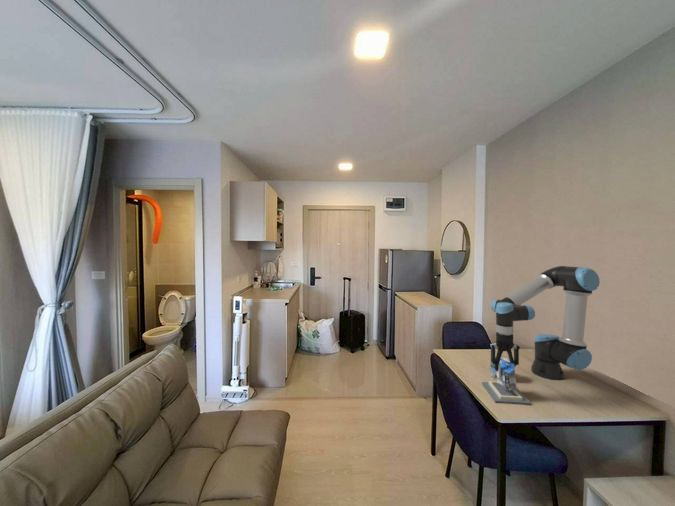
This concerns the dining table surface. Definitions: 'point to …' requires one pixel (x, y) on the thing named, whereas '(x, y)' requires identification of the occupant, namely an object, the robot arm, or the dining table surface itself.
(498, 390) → the grey platform
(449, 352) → the dining table surface
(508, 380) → the label tape cartridge
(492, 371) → the light bulb box
